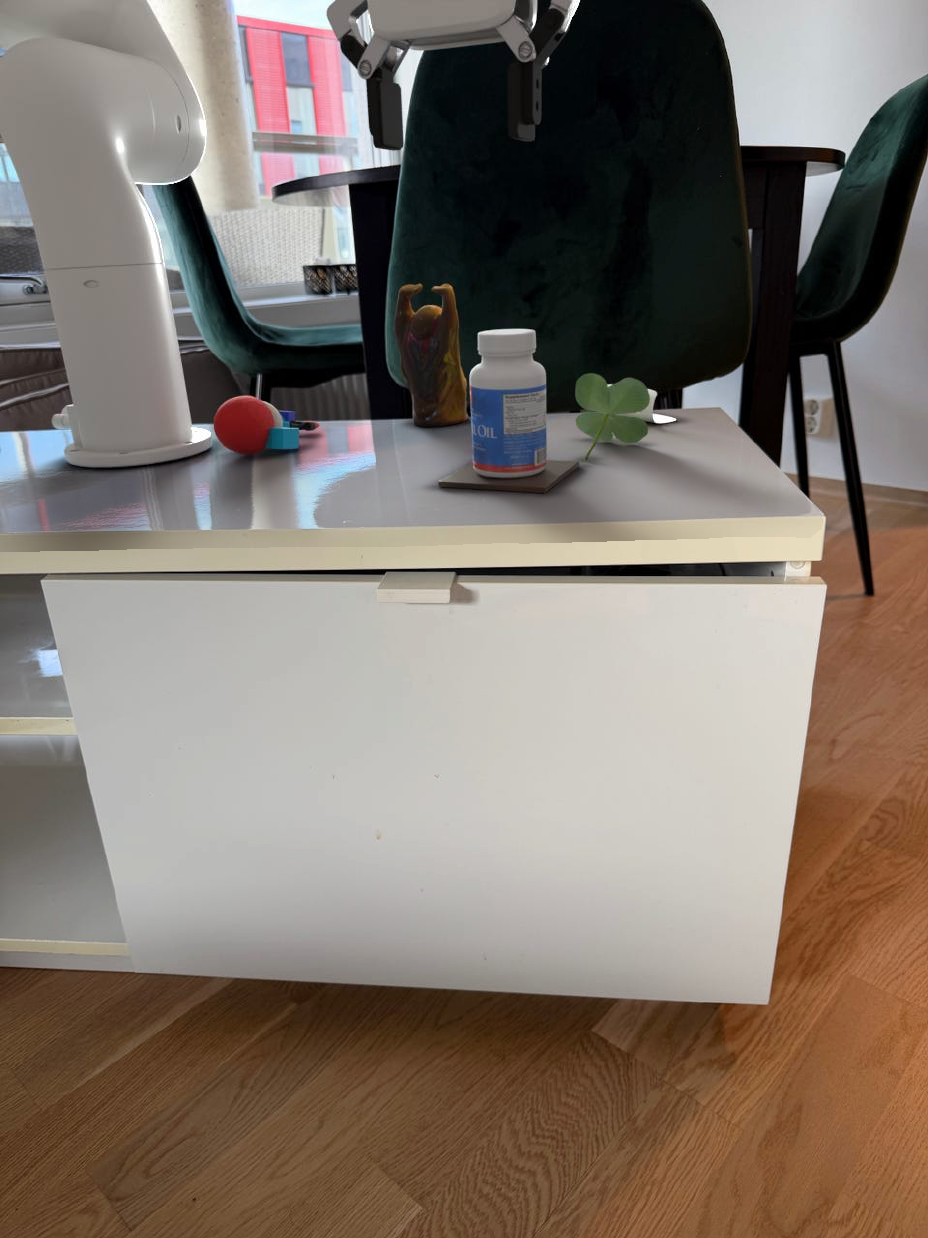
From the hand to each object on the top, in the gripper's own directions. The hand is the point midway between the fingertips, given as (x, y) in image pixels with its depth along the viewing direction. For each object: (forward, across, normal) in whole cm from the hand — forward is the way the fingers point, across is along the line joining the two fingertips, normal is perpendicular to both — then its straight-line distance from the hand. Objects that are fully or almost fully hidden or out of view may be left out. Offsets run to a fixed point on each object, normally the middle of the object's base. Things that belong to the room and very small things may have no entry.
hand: (453, 144), depth 58 cm
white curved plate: (+22, -8, -24) cm, 33 cm away
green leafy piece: (+22, -8, -10) cm, 25 cm away
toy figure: (+23, +22, -5) cm, 32 cm away
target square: (+22, -4, +1) cm, 22 cm away
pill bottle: (+22, -4, +1) cm, 22 cm away
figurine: (+22, +11, -19) cm, 31 cm away
